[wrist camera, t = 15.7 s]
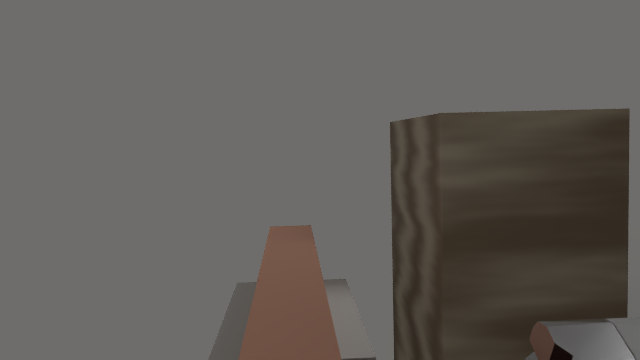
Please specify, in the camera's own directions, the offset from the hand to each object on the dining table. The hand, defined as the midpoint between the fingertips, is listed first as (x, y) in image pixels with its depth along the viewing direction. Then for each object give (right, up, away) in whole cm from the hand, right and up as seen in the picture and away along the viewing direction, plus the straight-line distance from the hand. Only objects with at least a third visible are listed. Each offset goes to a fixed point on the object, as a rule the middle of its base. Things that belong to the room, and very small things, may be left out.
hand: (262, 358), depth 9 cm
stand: (+12, -19, +32) cm, 39 cm away
